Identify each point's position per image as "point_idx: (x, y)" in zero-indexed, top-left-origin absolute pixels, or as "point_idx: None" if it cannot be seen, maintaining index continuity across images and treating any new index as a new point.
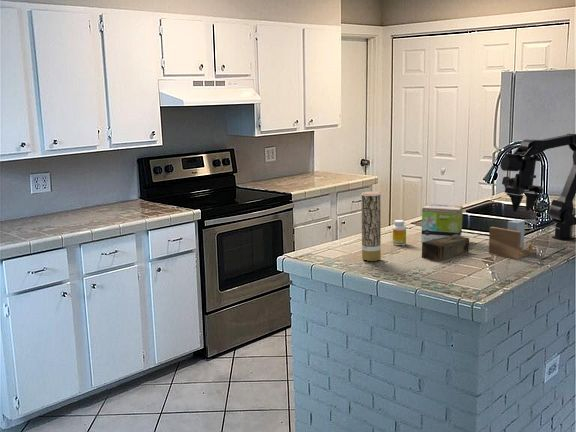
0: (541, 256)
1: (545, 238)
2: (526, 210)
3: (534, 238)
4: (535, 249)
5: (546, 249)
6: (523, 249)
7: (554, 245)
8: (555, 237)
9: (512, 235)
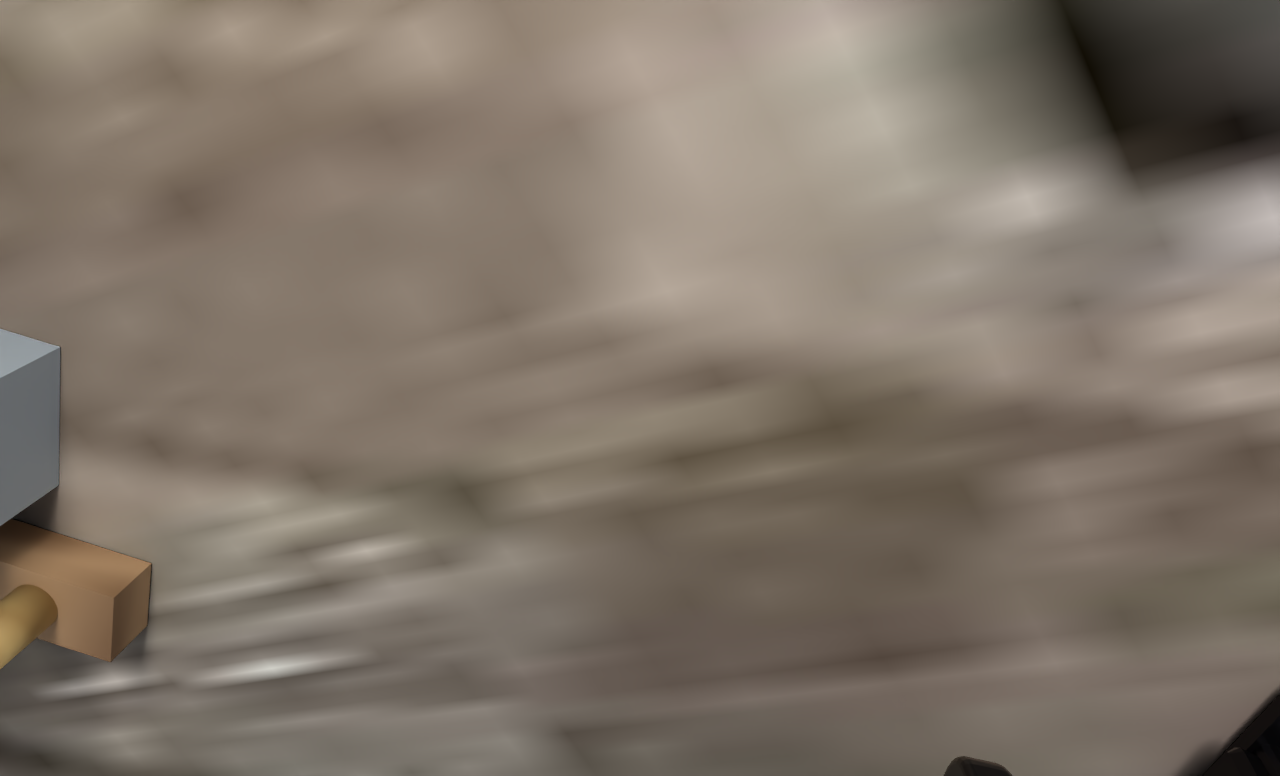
0: (38, 709)
1: (1203, 593)
2: (952, 764)
3: (1127, 427)
4: (107, 655)
5: (418, 710)
6: (25, 507)
7: (720, 768)
8: (1241, 749)
9: None
